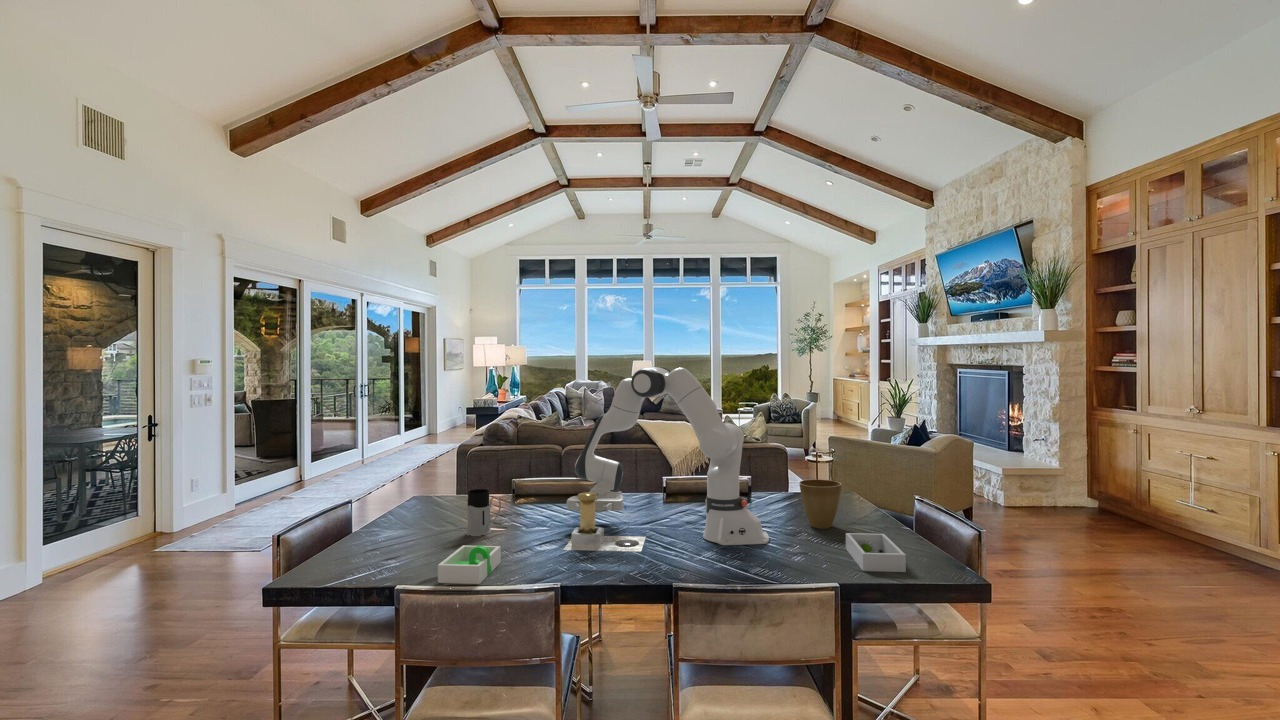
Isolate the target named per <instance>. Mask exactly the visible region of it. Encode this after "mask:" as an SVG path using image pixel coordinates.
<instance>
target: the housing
mask: <svg viewBox="0 0 1280 720" xmlns="http://www.w3.org/2000/svg"><path fill="white" fill-rule="evenodd" d="M646 538H647V536H628V535H627V536H626V535H624V536H623V535H622V536H621V535H605V527H601V526H595V533H580V526H575V528H574V529H573V530H572V532H571V537H570V540H569V541H568V542H567V544H566V546H565V547H564V548H563V551H591V552H592V551H593V552H594V551H597V552H639V553H640V552H642V550H643V547H644V544H645V541H646Z"/></svg>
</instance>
